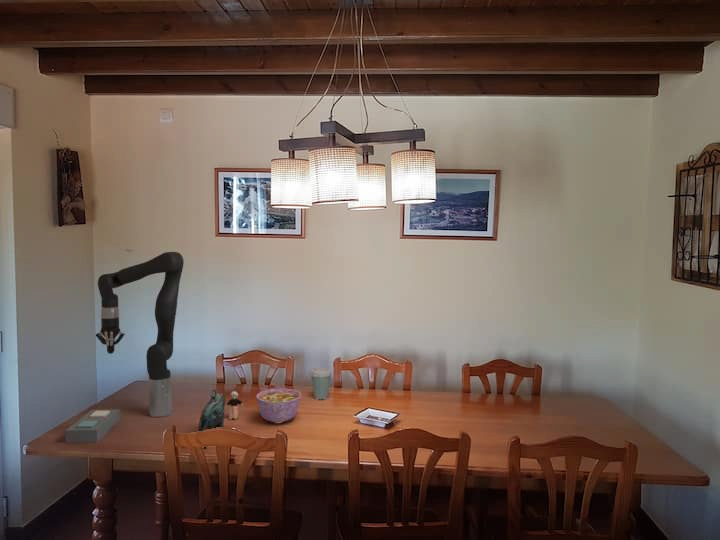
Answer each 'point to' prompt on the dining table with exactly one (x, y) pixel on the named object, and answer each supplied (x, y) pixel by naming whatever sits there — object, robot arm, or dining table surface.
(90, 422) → the teal key
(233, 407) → the grandmother figurine
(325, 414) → the dining table surface
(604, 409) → the dining table surface
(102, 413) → the cream key
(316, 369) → the disposable coffee cup
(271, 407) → the bowl of food
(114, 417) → the key box
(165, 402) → the robot arm
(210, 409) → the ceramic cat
